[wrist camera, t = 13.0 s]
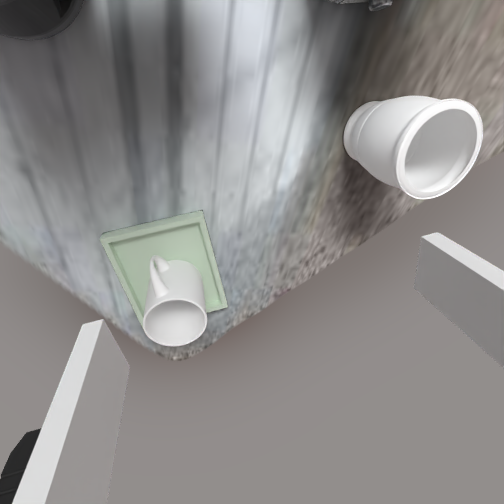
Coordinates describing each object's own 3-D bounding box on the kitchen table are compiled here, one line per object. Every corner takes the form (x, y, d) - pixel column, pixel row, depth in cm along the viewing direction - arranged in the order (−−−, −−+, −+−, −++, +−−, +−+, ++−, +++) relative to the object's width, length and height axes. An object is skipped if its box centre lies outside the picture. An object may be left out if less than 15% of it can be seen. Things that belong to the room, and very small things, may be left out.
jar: (392, 164, 49) (466, 194, 37) (332, 170, 48) (388, 204, 35) (406, 90, 44) (499, 95, 31) (339, 94, 42) (408, 101, 30)
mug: (180, 232, 47) (180, 269, 38) (210, 289, 53) (216, 332, 44) (128, 252, 47) (115, 295, 38) (164, 307, 53) (161, 354, 44)
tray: (102, 233, 45) (99, 239, 43) (202, 209, 47) (203, 215, 45) (144, 321, 54) (143, 329, 53) (226, 299, 56) (228, 307, 54)
